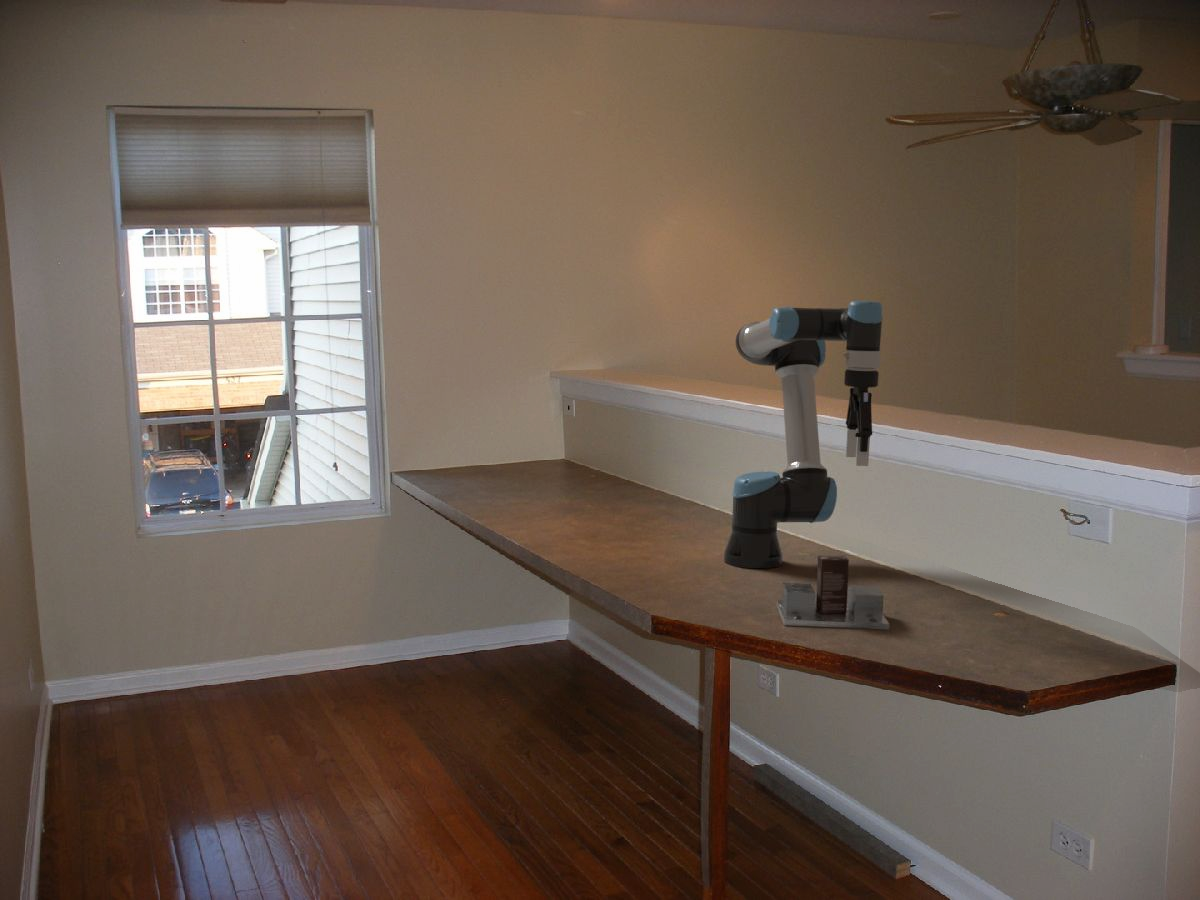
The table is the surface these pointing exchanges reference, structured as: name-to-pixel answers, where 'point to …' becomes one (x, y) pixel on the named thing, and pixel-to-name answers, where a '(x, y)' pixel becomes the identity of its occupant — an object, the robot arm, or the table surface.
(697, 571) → the table surface
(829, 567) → the box
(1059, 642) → the table surface
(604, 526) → the table surface
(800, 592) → the wall mount bracket
